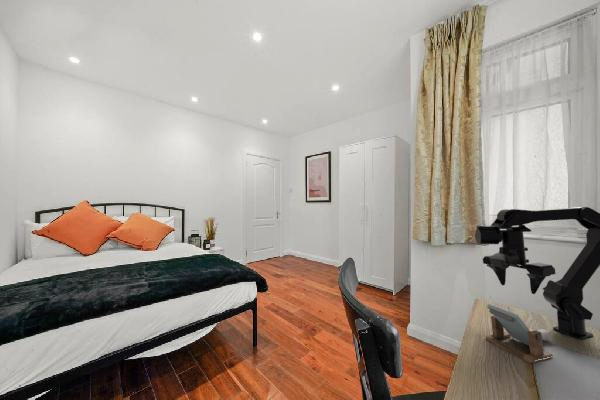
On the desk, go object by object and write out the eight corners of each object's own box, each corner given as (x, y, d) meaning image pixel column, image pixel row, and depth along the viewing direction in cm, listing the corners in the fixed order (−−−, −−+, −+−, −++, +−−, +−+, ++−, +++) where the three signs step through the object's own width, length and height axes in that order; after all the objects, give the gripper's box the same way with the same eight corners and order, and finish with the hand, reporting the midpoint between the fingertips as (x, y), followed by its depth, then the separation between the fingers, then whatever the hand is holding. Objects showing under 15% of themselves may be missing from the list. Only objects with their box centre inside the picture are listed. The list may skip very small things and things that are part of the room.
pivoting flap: (510, 339, 72) (513, 335, 72) (541, 355, 64) (545, 349, 64) (484, 308, 70) (488, 304, 71) (513, 320, 63) (517, 315, 63)
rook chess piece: (539, 344, 66) (560, 342, 67) (528, 326, 68) (549, 325, 70) (524, 345, 69) (545, 344, 70) (515, 329, 72) (535, 327, 73)
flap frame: (504, 334, 74) (502, 312, 74) (553, 358, 62) (550, 332, 62) (484, 338, 72) (482, 316, 73) (531, 363, 60) (528, 336, 60)
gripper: (469, 242, 87) (473, 283, 86) (527, 250, 68) (532, 302, 68) (492, 240, 89) (496, 280, 88) (554, 247, 71) (559, 297, 70)
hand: (517, 289), depth 78 cm, fingers open, 9 cm apart
